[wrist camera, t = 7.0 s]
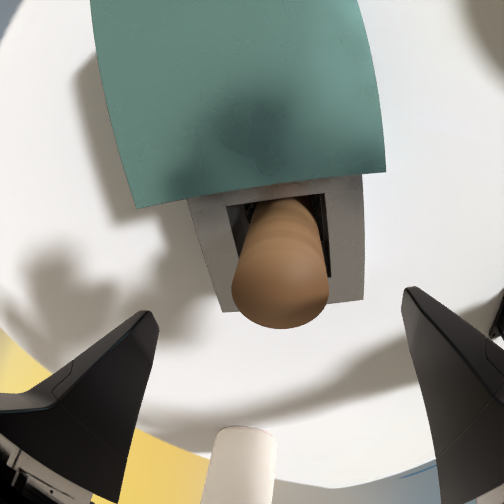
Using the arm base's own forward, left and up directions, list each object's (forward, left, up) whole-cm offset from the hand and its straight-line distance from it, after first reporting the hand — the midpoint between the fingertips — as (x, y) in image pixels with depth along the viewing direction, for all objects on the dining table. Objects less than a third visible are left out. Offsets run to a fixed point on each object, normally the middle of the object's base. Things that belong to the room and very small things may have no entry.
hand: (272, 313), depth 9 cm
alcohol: (-32, +9, -9) cm, 35 cm away
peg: (0, 0, -9) cm, 9 cm away
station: (+6, 0, -9) cm, 11 cm away
